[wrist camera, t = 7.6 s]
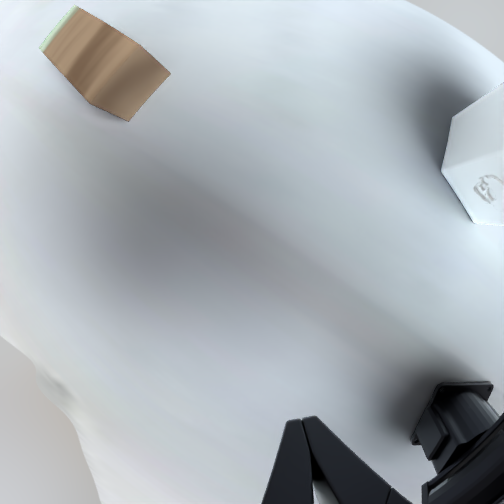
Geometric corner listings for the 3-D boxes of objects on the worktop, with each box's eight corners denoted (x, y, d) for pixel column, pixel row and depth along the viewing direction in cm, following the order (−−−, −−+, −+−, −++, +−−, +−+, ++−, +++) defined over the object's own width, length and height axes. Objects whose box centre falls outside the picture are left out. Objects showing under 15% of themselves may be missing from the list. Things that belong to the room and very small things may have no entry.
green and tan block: (140, 45, 14) (74, 4, 15) (90, 103, 15) (38, 47, 16) (171, 73, 19) (103, 26, 20) (128, 121, 20) (70, 64, 21)
